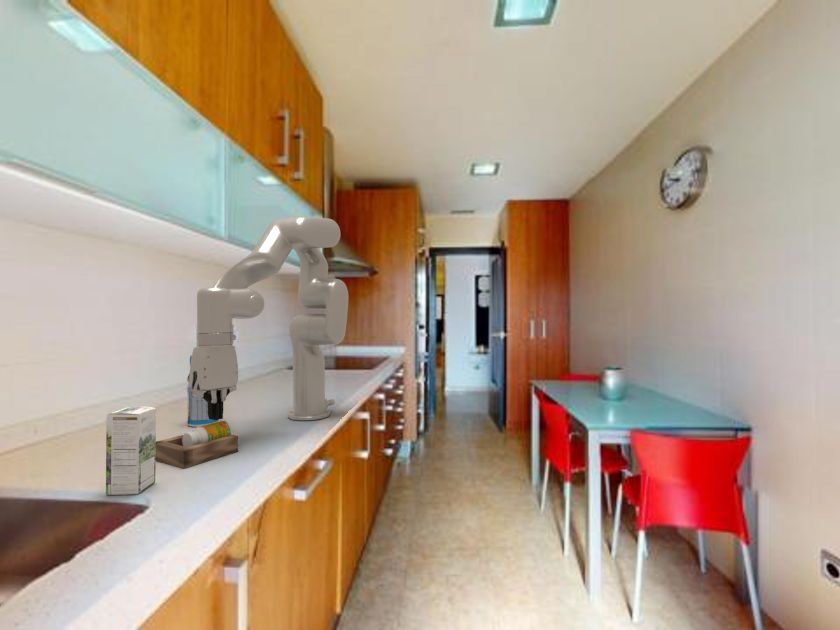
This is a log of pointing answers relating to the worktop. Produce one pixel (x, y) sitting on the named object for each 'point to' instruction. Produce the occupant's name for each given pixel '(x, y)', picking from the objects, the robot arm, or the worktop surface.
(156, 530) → the worktop surface
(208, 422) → the beverage bottle
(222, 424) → the supplement bottle
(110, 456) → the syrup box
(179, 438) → the tray
